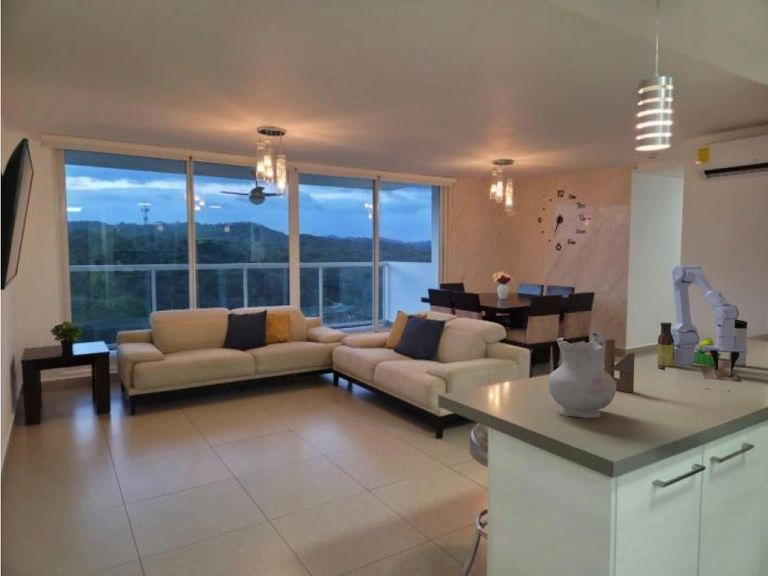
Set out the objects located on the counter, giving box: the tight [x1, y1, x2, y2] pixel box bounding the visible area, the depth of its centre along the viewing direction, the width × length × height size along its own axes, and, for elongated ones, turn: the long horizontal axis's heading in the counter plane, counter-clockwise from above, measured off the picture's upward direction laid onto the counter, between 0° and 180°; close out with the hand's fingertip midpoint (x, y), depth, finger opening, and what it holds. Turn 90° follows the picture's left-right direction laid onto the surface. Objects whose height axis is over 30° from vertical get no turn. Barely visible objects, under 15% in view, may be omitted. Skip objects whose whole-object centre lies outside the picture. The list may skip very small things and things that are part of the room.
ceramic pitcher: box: [547, 330, 617, 420], centre depth 155 cm, size 22×20×25 cm
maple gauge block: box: [716, 357, 731, 377], centre depth 196 cm, size 5×5×6 cm
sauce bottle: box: [657, 321, 675, 370], centre depth 213 cm, size 6×6×20 cm
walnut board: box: [700, 366, 743, 383], centre depth 197 cm, size 12×22×2 cm, turn 150°
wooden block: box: [603, 337, 635, 394], centre depth 181 cm, size 4×11×18 cm, turn 31°
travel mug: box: [727, 318, 748, 368], centre depth 218 cm, size 6×7×20 cm
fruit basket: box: [694, 337, 722, 366], centre depth 223 cm, size 11×9×11 cm
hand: (723, 370), depth 196 cm, fingers closed on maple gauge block, 4 cm apart
